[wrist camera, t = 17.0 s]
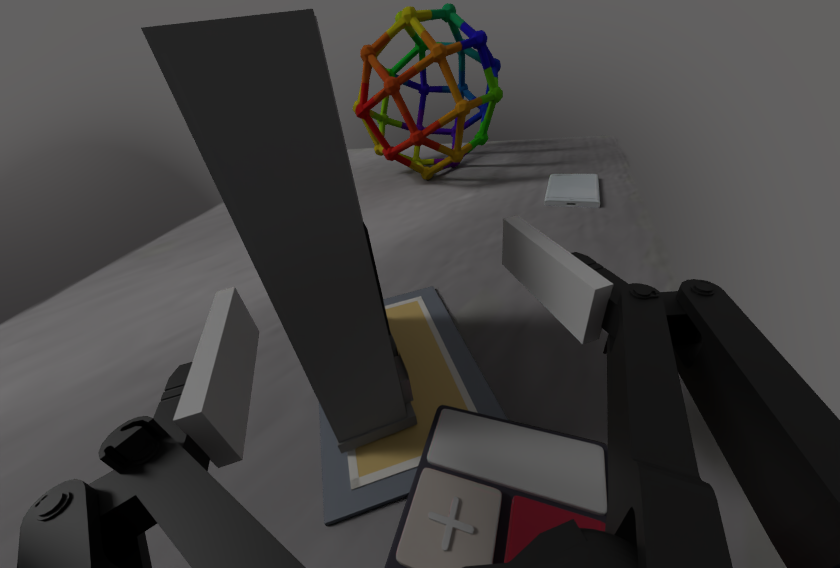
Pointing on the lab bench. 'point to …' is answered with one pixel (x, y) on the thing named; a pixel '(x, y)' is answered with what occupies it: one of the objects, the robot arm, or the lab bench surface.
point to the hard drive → (573, 190)
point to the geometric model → (428, 89)
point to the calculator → (495, 490)
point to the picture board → (431, 387)
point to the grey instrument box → (293, 203)
